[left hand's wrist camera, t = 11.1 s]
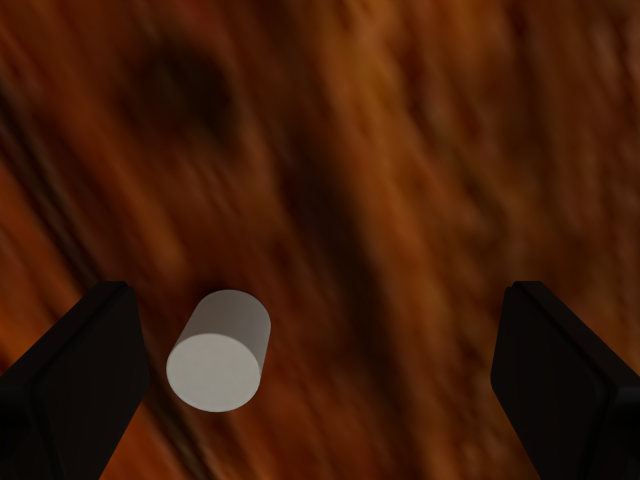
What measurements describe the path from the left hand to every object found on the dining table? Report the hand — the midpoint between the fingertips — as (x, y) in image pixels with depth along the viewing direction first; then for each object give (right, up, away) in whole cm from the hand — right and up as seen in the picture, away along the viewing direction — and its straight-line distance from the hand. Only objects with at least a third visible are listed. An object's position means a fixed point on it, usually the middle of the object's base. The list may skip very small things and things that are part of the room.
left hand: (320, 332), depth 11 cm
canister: (-5, -2, +13) cm, 14 cm away
